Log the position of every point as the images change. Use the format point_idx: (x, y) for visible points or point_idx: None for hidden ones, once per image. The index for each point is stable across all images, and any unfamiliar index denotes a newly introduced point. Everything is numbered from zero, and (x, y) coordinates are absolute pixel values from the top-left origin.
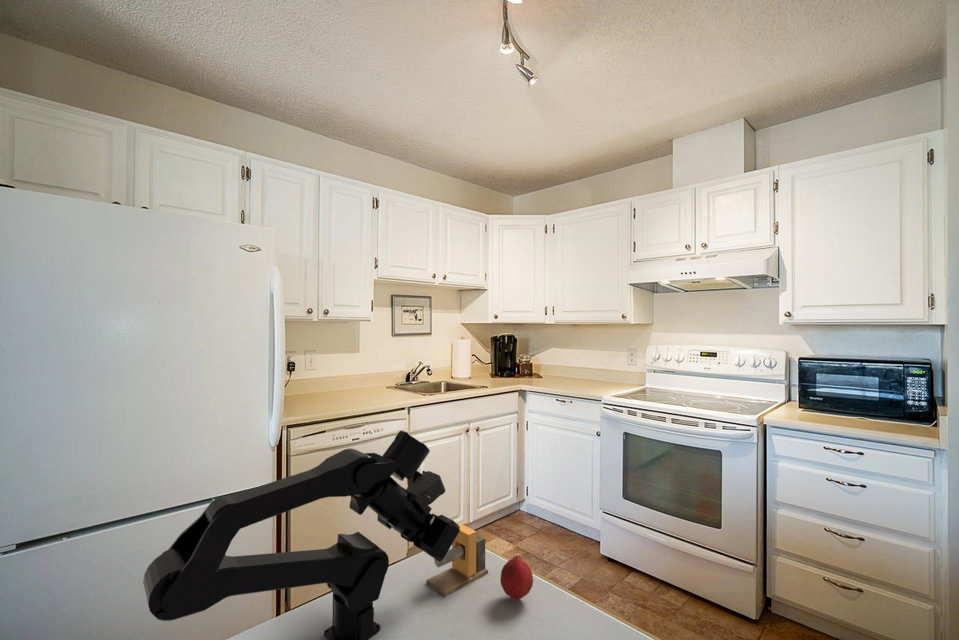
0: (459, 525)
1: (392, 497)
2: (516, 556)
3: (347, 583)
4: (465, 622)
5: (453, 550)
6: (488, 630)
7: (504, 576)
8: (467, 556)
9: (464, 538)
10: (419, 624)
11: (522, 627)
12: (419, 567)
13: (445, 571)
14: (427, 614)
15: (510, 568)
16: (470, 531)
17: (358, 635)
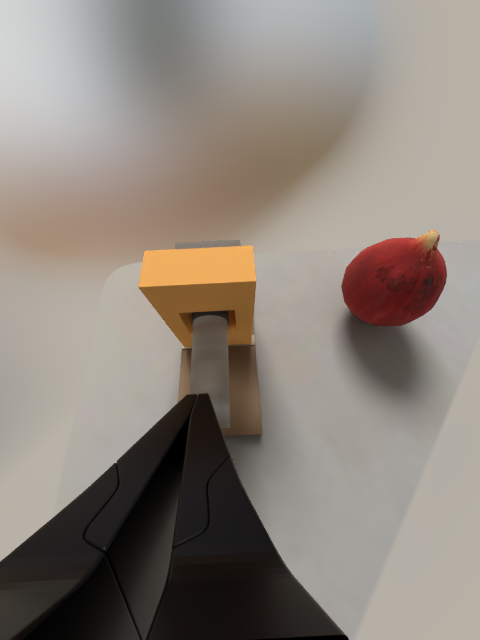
0: (160, 262)
1: None
2: (436, 242)
3: None
4: (382, 455)
5: (214, 350)
6: (433, 426)
7: (406, 309)
8: (247, 323)
9: (230, 296)
10: (328, 589)
11: (450, 358)
12: (105, 408)
13: (183, 370)
14: (300, 531)
15: (426, 283)
16: (236, 259)
17: None
